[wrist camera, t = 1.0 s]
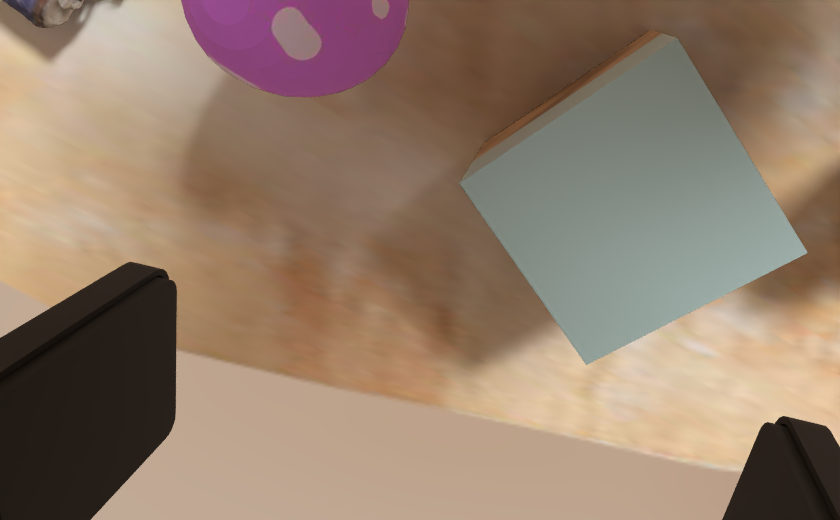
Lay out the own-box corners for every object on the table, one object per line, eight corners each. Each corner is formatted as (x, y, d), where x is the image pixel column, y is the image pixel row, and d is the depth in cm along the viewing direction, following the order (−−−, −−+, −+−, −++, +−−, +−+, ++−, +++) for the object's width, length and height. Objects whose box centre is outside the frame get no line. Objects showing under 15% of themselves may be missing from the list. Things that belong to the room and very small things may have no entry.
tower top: (662, 33, 26) (677, 37, 23) (776, 220, 28) (807, 252, 24) (472, 161, 30) (459, 183, 26) (584, 322, 31) (586, 364, 27)
